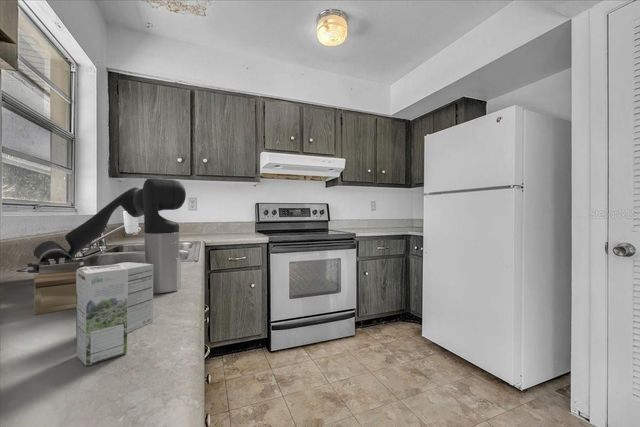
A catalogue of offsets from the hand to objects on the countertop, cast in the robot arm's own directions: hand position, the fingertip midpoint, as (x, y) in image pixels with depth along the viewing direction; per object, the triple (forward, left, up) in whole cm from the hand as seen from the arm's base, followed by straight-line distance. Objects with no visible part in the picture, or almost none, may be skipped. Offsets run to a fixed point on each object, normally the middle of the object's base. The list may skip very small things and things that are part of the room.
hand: (58, 270), depth 81 cm
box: (-4, +7, -8) cm, 11 cm away
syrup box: (-26, +40, -8) cm, 48 cm away
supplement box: (-25, +27, -8) cm, 38 cm away
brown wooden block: (-4, +6, -1) cm, 7 cm away
